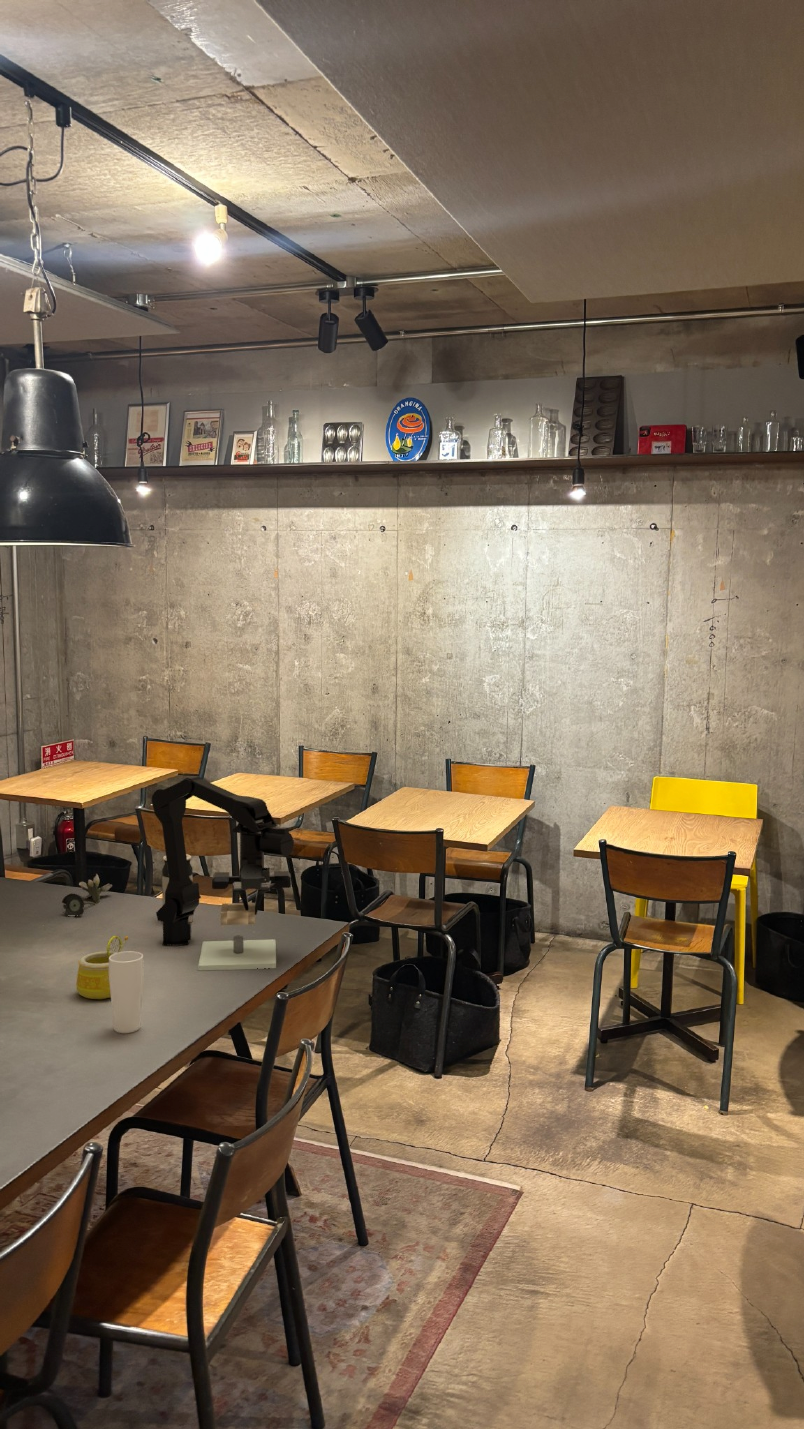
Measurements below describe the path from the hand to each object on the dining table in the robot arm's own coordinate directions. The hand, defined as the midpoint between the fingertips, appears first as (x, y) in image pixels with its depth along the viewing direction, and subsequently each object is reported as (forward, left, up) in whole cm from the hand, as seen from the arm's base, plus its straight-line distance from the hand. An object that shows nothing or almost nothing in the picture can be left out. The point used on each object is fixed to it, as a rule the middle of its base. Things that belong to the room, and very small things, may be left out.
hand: (251, 914), depth 250 cm
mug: (-31, -21, -11) cm, 39 cm away
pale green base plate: (-3, 0, -10) cm, 11 cm away
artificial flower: (-47, +48, -11) cm, 68 cm away
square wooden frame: (-3, 0, -1) cm, 3 cm away
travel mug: (-20, +30, -11) cm, 38 cm away
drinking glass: (-24, -42, -11) cm, 50 cm away
